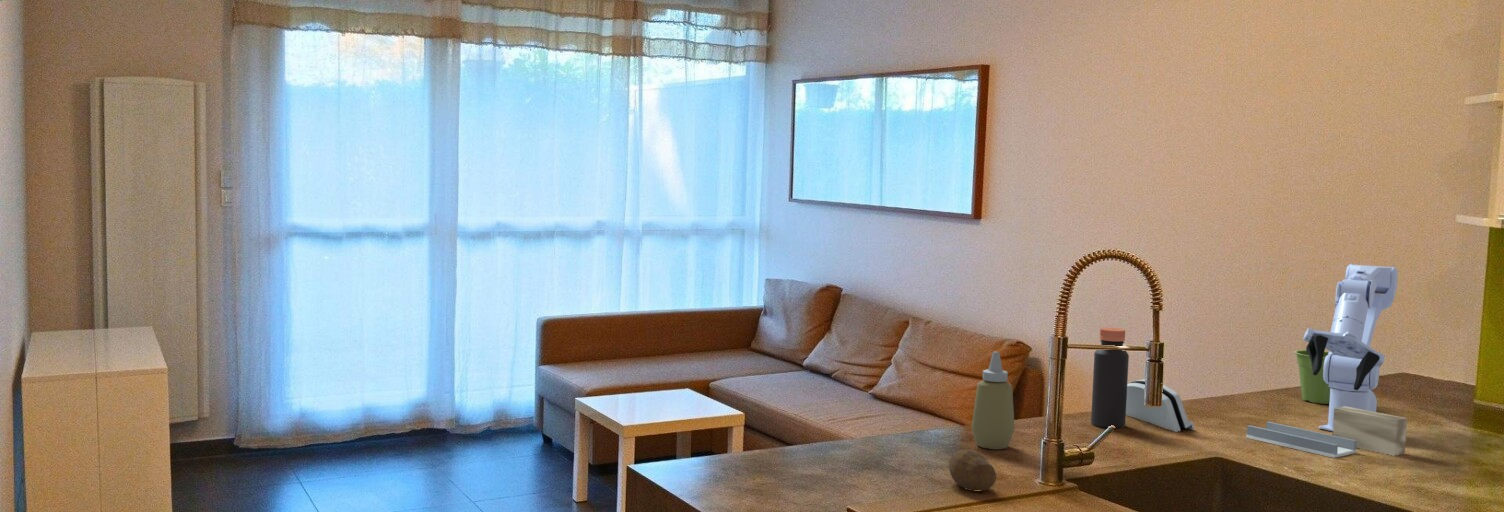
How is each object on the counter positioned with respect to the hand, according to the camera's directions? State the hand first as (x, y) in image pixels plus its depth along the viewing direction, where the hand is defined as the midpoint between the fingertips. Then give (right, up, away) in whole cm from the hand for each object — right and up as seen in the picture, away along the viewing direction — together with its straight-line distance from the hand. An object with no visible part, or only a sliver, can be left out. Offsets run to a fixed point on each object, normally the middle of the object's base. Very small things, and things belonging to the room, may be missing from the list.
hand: (1336, 379), depth 223 cm
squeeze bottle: (-67, -12, -4) cm, 68 cm away
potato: (-77, -15, -32) cm, 84 cm away
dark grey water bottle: (-39, -11, +17) cm, 44 cm away
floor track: (-5, -13, +4) cm, 15 cm away
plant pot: (+20, -10, +48) cm, 53 cm away
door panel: (+7, -14, +3) cm, 16 cm away
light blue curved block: (-28, -12, +20) cm, 37 cm away
